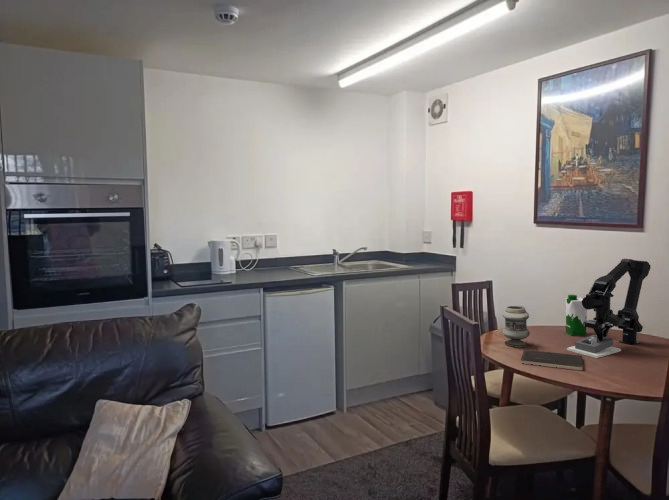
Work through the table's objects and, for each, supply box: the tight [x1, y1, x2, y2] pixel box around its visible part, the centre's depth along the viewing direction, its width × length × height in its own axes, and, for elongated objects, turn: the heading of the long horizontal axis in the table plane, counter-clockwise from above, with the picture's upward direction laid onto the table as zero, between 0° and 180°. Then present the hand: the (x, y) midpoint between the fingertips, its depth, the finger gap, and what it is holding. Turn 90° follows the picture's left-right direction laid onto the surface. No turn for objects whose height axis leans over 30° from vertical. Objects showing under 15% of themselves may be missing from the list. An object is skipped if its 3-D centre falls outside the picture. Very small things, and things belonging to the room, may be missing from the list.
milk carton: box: [565, 294, 588, 337], centre depth 238 cm, size 9×9×20 cm
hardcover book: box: [520, 349, 584, 371], centre depth 198 cm, size 16×23×2 cm
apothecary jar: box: [502, 305, 531, 348], centre depth 223 cm, size 12×12×18 cm
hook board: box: [566, 337, 622, 359], centre depth 211 cm, size 18×14×6 cm
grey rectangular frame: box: [574, 334, 614, 353], centre depth 211 cm, size 14×9×3 cm, turn 119°
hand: (602, 340), depth 214 cm, fingers closed on grey rectangular frame, 2 cm apart
